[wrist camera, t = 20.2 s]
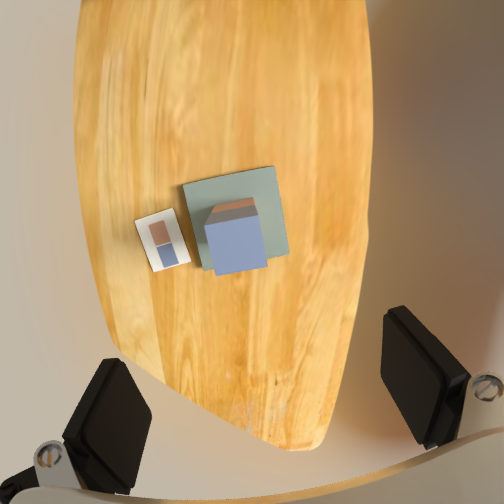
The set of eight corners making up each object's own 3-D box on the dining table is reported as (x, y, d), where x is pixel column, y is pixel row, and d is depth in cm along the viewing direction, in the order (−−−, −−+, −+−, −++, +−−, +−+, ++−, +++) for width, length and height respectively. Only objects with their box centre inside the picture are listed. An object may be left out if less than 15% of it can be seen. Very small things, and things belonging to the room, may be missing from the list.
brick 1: (214, 205, 39) (210, 213, 33) (252, 197, 38) (255, 204, 33) (223, 241, 40) (220, 256, 34) (260, 234, 40) (263, 247, 34)
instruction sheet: (134, 220, 40) (134, 221, 40) (172, 207, 40) (172, 207, 40) (153, 271, 43) (153, 272, 42) (191, 260, 42) (191, 261, 42)
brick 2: (210, 213, 33) (204, 225, 27) (255, 204, 33) (258, 215, 27) (219, 255, 34) (215, 276, 29) (262, 247, 34) (267, 266, 29)
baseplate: (184, 184, 39) (182, 185, 38) (273, 165, 39) (274, 166, 37) (204, 267, 43) (203, 270, 41) (288, 250, 42) (289, 254, 41)
